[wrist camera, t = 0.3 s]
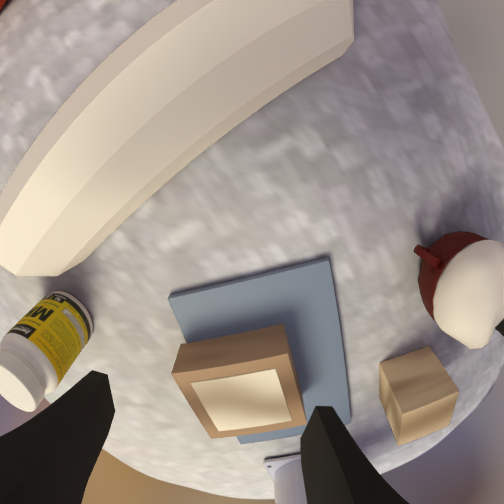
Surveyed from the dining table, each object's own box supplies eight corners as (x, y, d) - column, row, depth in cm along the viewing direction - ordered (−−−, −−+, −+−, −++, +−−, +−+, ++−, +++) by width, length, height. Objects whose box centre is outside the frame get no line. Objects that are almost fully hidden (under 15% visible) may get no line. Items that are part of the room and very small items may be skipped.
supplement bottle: (71, 280, 19) (1, 350, 11) (105, 334, 21) (55, 416, 13) (34, 299, 20) (-28, 361, 12) (66, 347, 21) (17, 417, 13)
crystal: (270, -94, 7) (-34, 189, 13) (378, -61, 6) (-24, 289, 11) (301, -10, 15) (45, 206, 20) (381, 46, 13) (71, 287, 18)
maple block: (424, 381, 22) (448, 425, 17) (379, 397, 23) (397, 446, 18) (428, 345, 21) (459, 390, 16) (379, 362, 21) (402, 414, 16)
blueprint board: (349, 418, 24) (350, 422, 23) (240, 439, 25) (240, 444, 24) (327, 257, 18) (328, 260, 18) (169, 295, 19) (167, 298, 19)
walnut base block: (302, 394, 22) (307, 424, 19) (214, 409, 22) (211, 439, 20) (283, 323, 19) (287, 353, 16) (180, 344, 20) (171, 374, 17)
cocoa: (383, 245, 18) (486, 371, 7) (453, 188, 17) (594, 254, 5) (436, 335, 20) (505, 451, 9) (494, 287, 19) (584, 378, 8)
